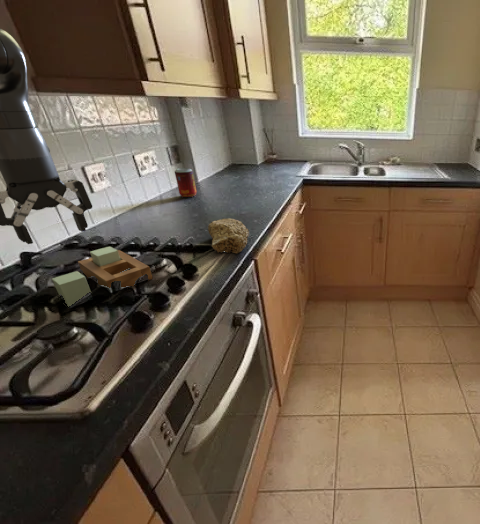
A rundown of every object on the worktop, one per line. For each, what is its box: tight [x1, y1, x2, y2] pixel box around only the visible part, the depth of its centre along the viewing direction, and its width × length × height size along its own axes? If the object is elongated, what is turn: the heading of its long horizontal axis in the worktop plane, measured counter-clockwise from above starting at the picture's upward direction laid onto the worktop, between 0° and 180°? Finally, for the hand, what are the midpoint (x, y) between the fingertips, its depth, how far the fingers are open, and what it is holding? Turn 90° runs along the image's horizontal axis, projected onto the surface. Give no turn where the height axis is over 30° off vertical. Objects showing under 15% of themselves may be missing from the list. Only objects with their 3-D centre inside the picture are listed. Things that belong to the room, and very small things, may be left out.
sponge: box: [207, 218, 250, 254], centre depth 103 cm, size 13×8×20 cm
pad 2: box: [89, 246, 121, 267], centre depth 84 cm, size 4×4×6 cm
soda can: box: [174, 167, 198, 198], centre depth 148 cm, size 7×7×12 cm
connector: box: [77, 249, 153, 288], centre depth 83 cm, size 9×16×4 cm, turn 56°
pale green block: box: [51, 270, 92, 308], centre depth 72 cm, size 4×4×6 cm
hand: (57, 236), depth 68 cm, fingers open, 8 cm apart
